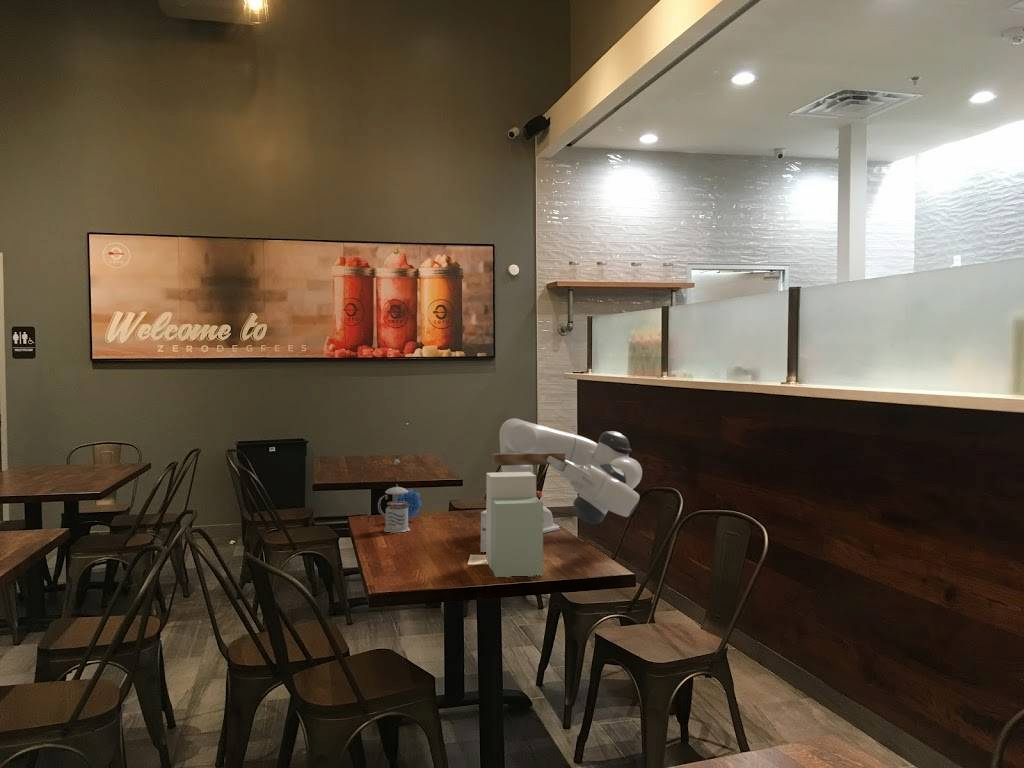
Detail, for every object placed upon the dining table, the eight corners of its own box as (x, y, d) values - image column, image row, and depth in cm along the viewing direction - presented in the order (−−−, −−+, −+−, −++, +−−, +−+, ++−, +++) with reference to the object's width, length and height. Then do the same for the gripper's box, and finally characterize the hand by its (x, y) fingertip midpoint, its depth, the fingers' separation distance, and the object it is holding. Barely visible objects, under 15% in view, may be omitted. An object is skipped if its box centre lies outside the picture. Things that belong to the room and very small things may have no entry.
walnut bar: (562, 462, 217) (562, 452, 217) (565, 464, 214) (565, 453, 214) (492, 464, 213) (492, 453, 213) (494, 465, 210) (494, 454, 210)
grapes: (419, 518, 292) (419, 486, 291) (423, 521, 285) (423, 489, 285) (389, 520, 288) (388, 488, 288) (391, 523, 282) (391, 491, 281)
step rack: (529, 559, 229) (529, 471, 228) (543, 575, 210) (543, 480, 209) (486, 560, 226) (486, 472, 226) (495, 577, 208) (495, 481, 207)
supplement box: (479, 553, 236) (479, 512, 236) (488, 547, 243) (488, 508, 243) (502, 555, 234) (502, 513, 234) (510, 549, 241) (510, 509, 241)
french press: (406, 534, 264) (406, 461, 263) (373, 532, 266) (373, 460, 265) (414, 528, 273) (414, 458, 273) (383, 527, 275) (383, 457, 275)
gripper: (591, 496, 206) (548, 471, 204) (573, 485, 226) (533, 462, 224) (603, 475, 206) (559, 450, 204) (583, 466, 227) (543, 443, 224)
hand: (545, 456), depth 214 cm, fingers closed on walnut bar, 3 cm apart
